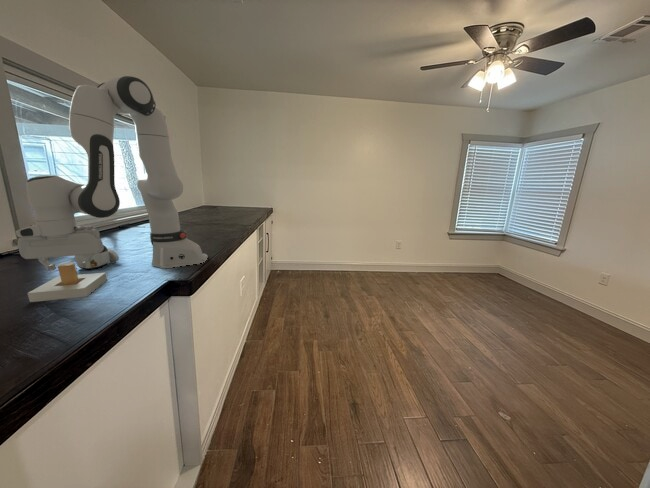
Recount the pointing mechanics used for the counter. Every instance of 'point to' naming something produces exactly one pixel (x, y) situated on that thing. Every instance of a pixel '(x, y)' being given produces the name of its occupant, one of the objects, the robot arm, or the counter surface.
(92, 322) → the counter surface
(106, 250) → the spread jar
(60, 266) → the amber upright block
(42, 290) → the housing
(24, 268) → the counter surface
